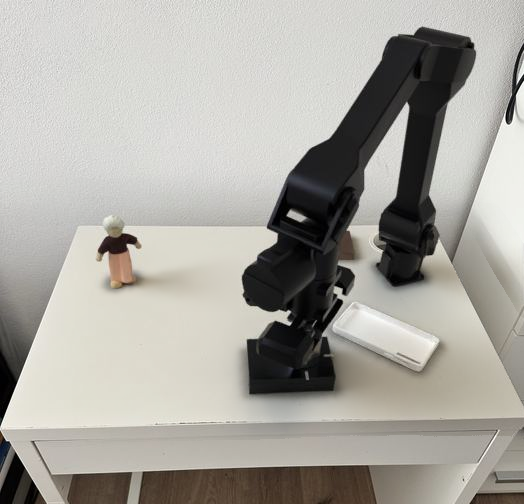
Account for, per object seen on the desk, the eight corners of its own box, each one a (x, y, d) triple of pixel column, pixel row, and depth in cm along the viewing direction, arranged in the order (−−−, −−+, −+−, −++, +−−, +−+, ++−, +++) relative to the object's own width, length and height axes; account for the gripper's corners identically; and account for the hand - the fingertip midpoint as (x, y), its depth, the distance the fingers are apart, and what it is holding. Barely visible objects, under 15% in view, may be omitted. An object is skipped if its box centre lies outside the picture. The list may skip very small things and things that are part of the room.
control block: (348, 238, 102) (351, 222, 100) (353, 260, 97) (356, 244, 95) (285, 237, 102) (286, 221, 99) (287, 259, 97) (288, 243, 95)
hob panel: (326, 348, 82) (329, 334, 80) (335, 392, 76) (338, 377, 74) (246, 351, 81) (246, 336, 79) (249, 395, 75) (249, 381, 73)
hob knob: (291, 343, 78) (293, 319, 75) (321, 348, 78) (324, 324, 74) (285, 364, 75) (287, 340, 72) (316, 370, 75) (319, 346, 71)
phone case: (438, 344, 83) (353, 306, 89) (441, 338, 82) (354, 300, 88) (419, 373, 79) (330, 331, 84) (421, 367, 78) (331, 325, 83)
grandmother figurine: (111, 295, 89) (96, 230, 80) (100, 284, 91) (83, 219, 82) (150, 276, 93) (140, 212, 84) (138, 266, 95) (127, 202, 86)
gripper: (286, 211, 73) (281, 298, 84) (216, 289, 61) (221, 377, 73) (364, 234, 70) (347, 321, 81) (305, 320, 58) (295, 408, 69)
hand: (303, 354), depth 76 cm, fingers closed on hob knob, 4 cm apart
